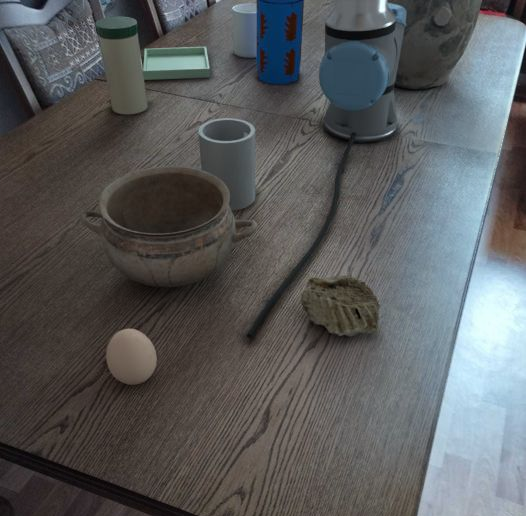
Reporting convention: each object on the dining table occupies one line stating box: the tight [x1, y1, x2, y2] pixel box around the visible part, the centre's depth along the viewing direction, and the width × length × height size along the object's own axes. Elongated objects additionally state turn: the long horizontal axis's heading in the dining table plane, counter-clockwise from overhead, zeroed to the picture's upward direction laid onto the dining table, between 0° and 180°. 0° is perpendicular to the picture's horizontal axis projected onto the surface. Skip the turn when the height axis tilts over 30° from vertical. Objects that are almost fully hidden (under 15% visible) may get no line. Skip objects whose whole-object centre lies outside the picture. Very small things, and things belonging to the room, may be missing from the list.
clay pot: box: [388, 0, 483, 90], centre depth 126 cm, size 22×23×30 cm
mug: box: [231, 3, 257, 59], centre depth 146 cm, size 9×12×11 cm
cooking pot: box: [79, 165, 258, 288], centre depth 78 cm, size 25×19×12 cm
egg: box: [105, 328, 158, 386], centre depth 65 cm, size 6×6×8 cm
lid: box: [95, 15, 139, 39], centre depth 112 cm, size 8×8×2 cm
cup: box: [197, 117, 256, 212], centre depth 93 cm, size 9×9×12 cm
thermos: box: [256, 0, 305, 85], centre depth 128 cm, size 11×11×25 cm
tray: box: [142, 46, 211, 81], centre depth 140 cm, size 16×16×2 cm
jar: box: [97, 32, 149, 115], centre depth 118 cm, size 8×8×16 cm
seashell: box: [300, 275, 381, 337], centre depth 73 cm, size 11×7×10 cm
